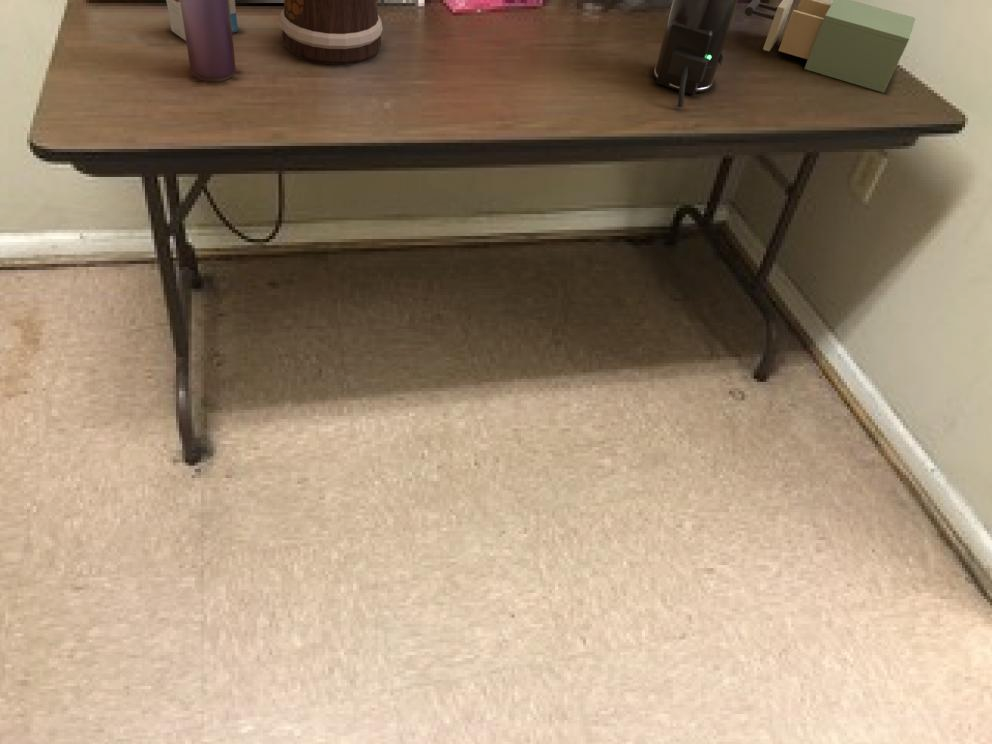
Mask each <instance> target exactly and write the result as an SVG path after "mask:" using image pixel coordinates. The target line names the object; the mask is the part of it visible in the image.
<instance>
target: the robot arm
mask: <svg viewBox="0 0 992 744" xmlns="http://www.w3.org/2000/svg"><path fill="white" fill-rule="evenodd" d="M738 2H739V0H672V4H671V7H670V12H669V15H668V18H667V23H666V27H665V30H664V35H663V36H662V37H663V38H662V42H661V45H660V46H661V47H660V50H659V52H658V53H659V54H658V57H657V60H656V64H655V67H654V70H653V77H654V79H656V81H655V82H656V84H657V85H659V86H663V87H665V88H669V89H672V90H675V91H678V97H677V107H678V108H683V107H684V103H685V94H687V95H692V96H694V95H695V94H696V93H697V94H698V93H703V92H707V91H709V90H710V89H711V88H712V86H713V83H714V78H715V75H716V72H717V68H718V65H719V66H720V67H722V64H723V59H724V56H723V54H722V52H723V49H724V47H725V43H726V40H727V37H728V34H729V30H730V28H731V23H732V20H733V17H734V15H735V12H736V8H737V5H738Z"/></svg>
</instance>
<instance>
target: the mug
mask: <svg viewBox="0 0 992 744" xmlns="http://www.w3.org/2000/svg"><path fill="white" fill-rule="evenodd" d="M378 11H379V10H378V2H377V0H284V1H283V10H282V11H281V12H280V15H279V25H280V28H281V39H282V43H283V45H284V46H285V47H286V48H287V49H288V50H289V51H290V52H291V53H292V54H294V55H295V56H298V57H300V58H302V59H304V60H307V61H311V62H314V63H318V64H319V63H320V64H326V65H349V64H357V63H360V62H363V61H366V60H368V59H370V58H372V57H373V56H374V55H375V54H376V53H378V52H379V50H380V48H381V46H382V38H381V37H382V36H381V34H382V32H383V30H384V28H383V23H382V19H381V17H380V16H379V12H378Z"/></svg>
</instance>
